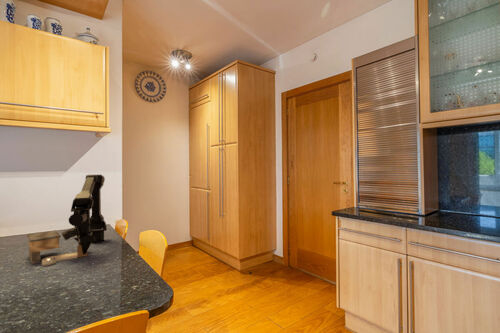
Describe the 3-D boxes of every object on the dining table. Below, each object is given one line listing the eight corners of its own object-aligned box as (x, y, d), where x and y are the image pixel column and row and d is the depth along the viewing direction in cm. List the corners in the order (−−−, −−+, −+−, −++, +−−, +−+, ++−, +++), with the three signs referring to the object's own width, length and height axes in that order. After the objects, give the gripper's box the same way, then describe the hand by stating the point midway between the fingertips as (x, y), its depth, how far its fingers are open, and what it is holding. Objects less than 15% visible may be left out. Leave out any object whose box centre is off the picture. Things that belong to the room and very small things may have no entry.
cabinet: (55, 251, 131) (55, 230, 131) (60, 258, 121) (60, 235, 121) (27, 256, 123) (27, 234, 123) (30, 264, 113) (30, 240, 113)
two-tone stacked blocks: (87, 253, 127) (87, 243, 127) (87, 256, 123) (87, 245, 123) (45, 259, 119) (45, 249, 119) (44, 263, 114) (44, 252, 114)
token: (57, 261, 117) (57, 256, 117) (54, 265, 112) (54, 259, 112) (43, 263, 115) (43, 257, 115) (40, 267, 110) (40, 261, 110)
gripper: (59, 221, 125) (59, 252, 125) (67, 227, 112) (67, 262, 112) (85, 218, 133) (85, 247, 133) (95, 223, 120) (95, 256, 120)
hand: (83, 253), depth 124 cm, fingers closed on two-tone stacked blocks, 4 cm apart
